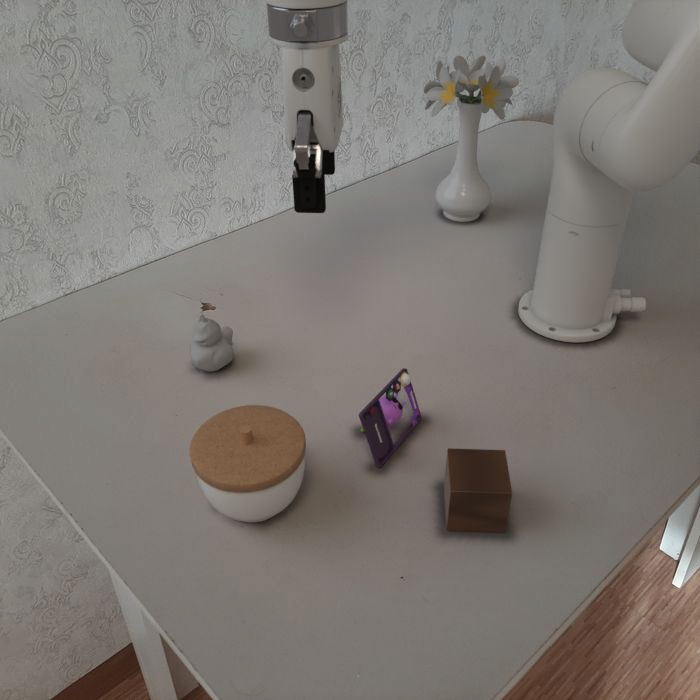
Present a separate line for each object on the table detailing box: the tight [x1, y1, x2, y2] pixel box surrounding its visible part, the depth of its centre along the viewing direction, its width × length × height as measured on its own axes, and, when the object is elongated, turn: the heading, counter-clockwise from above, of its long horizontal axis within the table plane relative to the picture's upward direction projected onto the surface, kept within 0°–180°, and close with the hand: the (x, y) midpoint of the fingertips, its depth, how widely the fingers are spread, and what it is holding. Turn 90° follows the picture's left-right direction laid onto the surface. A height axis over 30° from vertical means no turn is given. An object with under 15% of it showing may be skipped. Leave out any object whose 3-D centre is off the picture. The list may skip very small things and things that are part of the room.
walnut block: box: [443, 447, 513, 534], centre depth 68 cm, size 6×6×6 cm
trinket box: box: [189, 404, 307, 524], centre depth 68 cm, size 11×11×9 cm
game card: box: [358, 367, 423, 468], centre depth 77 cm, size 7×5×9 cm
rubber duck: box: [189, 313, 234, 372], centre depth 86 cm, size 5×7×8 cm
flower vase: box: [423, 55, 520, 223], centre depth 114 cm, size 13×18×25 cm
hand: (315, 191), depth 78 cm, fingers open, 9 cm apart
